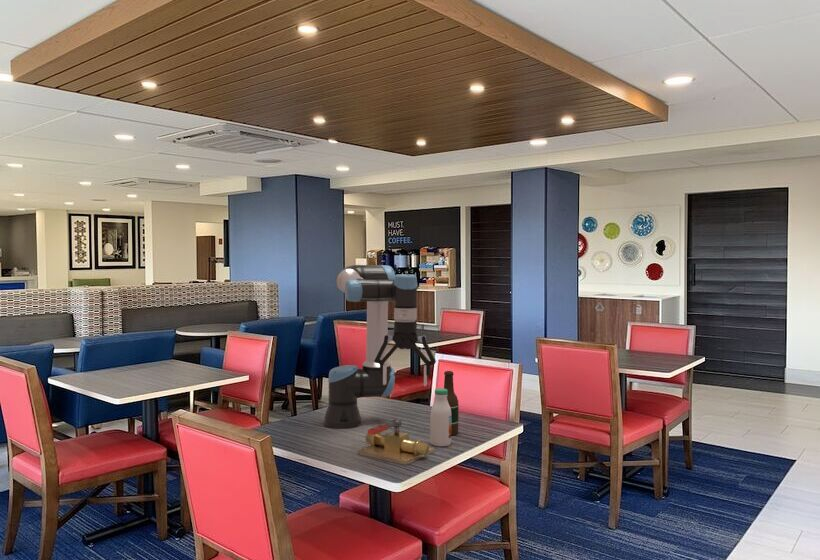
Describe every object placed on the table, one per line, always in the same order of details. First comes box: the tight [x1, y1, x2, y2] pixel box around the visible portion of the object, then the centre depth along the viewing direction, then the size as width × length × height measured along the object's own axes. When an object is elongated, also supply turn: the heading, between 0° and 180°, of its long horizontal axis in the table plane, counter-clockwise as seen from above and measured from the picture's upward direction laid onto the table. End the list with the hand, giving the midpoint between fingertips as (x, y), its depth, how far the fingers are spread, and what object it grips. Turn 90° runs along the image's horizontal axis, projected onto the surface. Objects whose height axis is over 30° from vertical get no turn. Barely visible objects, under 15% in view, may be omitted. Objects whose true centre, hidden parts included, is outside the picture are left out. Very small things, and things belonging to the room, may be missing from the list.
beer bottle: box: [443, 370, 459, 436], centre depth 242 cm, size 8×8×24 cm
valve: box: [357, 426, 436, 466], centre depth 217 cm, size 24×18×10 cm
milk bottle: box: [429, 387, 452, 447], centre depth 228 cm, size 8×8×20 cm
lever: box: [367, 418, 402, 435], centre depth 211 cm, size 17×3×2 cm, turn 146°
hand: (404, 384), depth 208 cm, fingers open, 13 cm apart
